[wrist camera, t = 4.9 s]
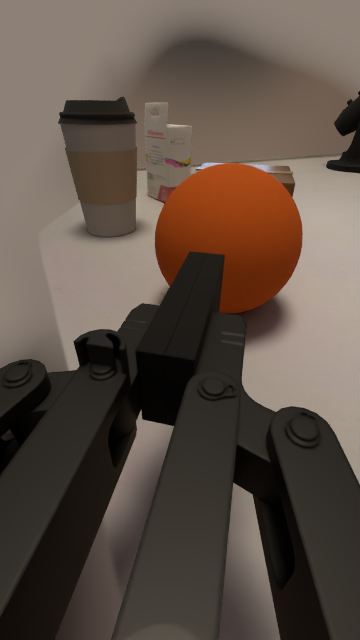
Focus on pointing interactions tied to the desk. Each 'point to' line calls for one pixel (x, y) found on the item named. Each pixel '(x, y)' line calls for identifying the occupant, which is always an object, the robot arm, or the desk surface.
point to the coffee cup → (103, 163)
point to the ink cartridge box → (165, 152)
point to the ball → (233, 231)
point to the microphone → (351, 119)
